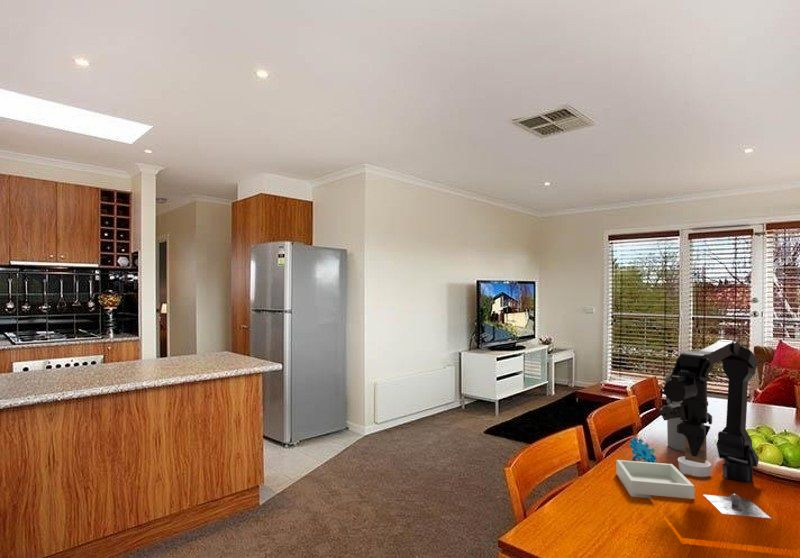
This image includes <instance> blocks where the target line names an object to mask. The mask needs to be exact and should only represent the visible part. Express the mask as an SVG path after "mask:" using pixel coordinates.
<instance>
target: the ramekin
mask: <svg viewBox="0 0 800 558" xmlns="http://www.w3.org/2000/svg"><path fill="white" fill-rule="evenodd" d="M677 463H678V470H679V471H680V472H681V473H682V474H683V475H689V476H693V477H699V478H706V477H710V473H711V467H712V464H711V462H710V461H708V460H706V462H705V464H704V463H699V462H694V461H690V460H685V456H679V457H678V458H677Z"/></svg>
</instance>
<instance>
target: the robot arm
mask: <svg viewBox="0 0 800 558" xmlns="http://www.w3.org/2000/svg"><path fill="white" fill-rule="evenodd" d="M756 356H757V355H755V354H754V353H753V351H751V350H750V349H749V348H746V347H744V346H742V345H741V344H740V343H739V342H738V341H736V340H728V339H720V340H719V339H718V340H717V341H716V342H715V343H713V344H710V345H708V346H707V347H704V348H702V349H699V350H689V351H682V352H681V353H679V356H678V357H677V358H676V359H677V360H676V361H675V364H674V367H673V370H672V371H671V372H672V376H671V380H670V381H668V382H667V383H665V384H664V387H663V393H664V396H665V398H666V397H667V398H668V401H669V400H671V402H672V401H673V402H680V401H681V403H680V404H675V405H670V404H667V405H663V406H662V407H661V408H659V412H660V413H659V415H660V416H661V417H662V419H663V421H667V420H669V419H673V418H679V417H680V420H682V421H681V422H680V423H679V424H678V425H677V433H680V434H683V435H685V436H686V438H687V440H688V444H689V447H690V451H691V454H692V456H695V457H696V456H697V455H698V452H699V450H700V448H701V446H702V444H703V441H704V439H705V437H706V438H707V436H708V433H709V431H710V429H711V425H712V424H713V415H711V414H710V413H709V412H708V406H709V401H708V382H709V381H710V380H711V378H710V377H709V374H710V373H711V372H712V371H713V370H714V365H715V364H717V363H719V362H720V363H721V364H722V371H723V372H724V375H726V377H727V379H728V385H727V386H728V387H727V403H726V404H727V405H726V422H725V427H724V428H723V430H721V431H719V432H718V433H717V441H716V449H717V453H718V458H719V459H722V460H724V463H722V475H721V477H722V478H725V479H726V480H729V481H734V482H738V483H745V484H746V483H748V484H749V483H750V482H751V483H753V482H754V474H753V473H754V472H753V471H754V468H753V467H755V468H758V464H759V462H760V461H759V460H760V457H759V455H758V454H757V452H756V451H755V449H754V447H753V439H752V438H751V436H750V435H749V433H748V432H747V410H748V408H747V407H748V390H749V381H750V380H751V379H752V378H753V377H754V376H755V374H756V371H757V367H758V366H759V365H758V364H759V360H758V358H757V357H756ZM685 420H686V421H685ZM707 423H708V425H706V424H707Z"/></svg>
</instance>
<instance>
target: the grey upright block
mask: <svg viewBox="0 0 800 558" xmlns="http://www.w3.org/2000/svg"><path fill="white" fill-rule="evenodd" d="M707 449H708V448H707V436H706V437H705V439H704V441H703V444H702V446H701V448H700V450H699V452H698V455H697V456H696V457H695V456H692V454H691V451H690V447H689V444H688V440H687V438H686V436H685V452H684V457H685V460H690V461H694V462H699V463H704V464H705V462H706V461H707V454H708V453H707V452H708V450H707Z"/></svg>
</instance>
